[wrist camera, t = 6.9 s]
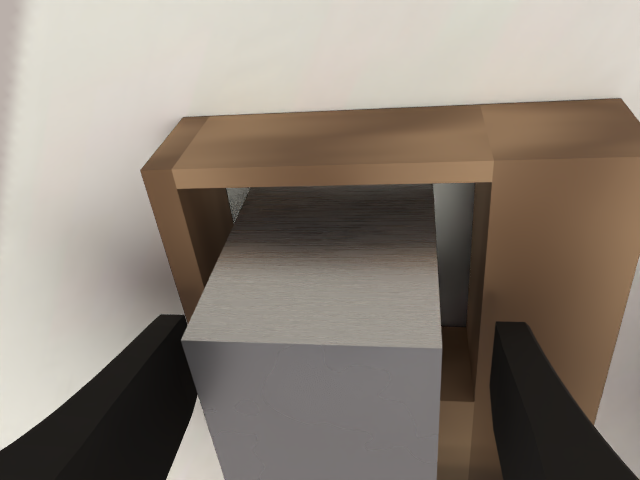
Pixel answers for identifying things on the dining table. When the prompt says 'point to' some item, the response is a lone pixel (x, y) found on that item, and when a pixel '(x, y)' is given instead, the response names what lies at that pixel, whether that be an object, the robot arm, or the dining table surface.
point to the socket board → (487, 232)
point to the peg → (323, 336)
